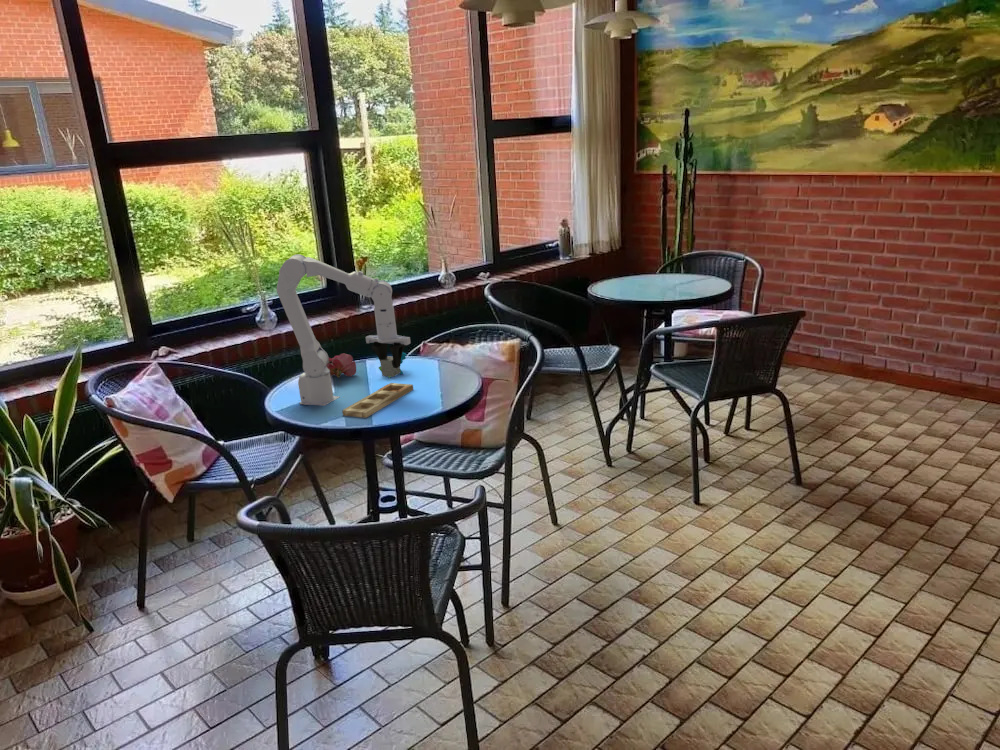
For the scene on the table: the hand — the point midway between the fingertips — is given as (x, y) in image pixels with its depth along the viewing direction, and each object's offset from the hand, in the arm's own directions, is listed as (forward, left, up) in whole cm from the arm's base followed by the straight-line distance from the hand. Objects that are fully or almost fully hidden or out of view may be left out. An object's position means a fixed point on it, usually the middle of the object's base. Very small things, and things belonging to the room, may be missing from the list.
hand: (391, 366), depth 223 cm
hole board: (0, -8, -9) cm, 12 cm away
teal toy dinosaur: (-13, +19, -9) cm, 24 cm away
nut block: (0, 0, -2) cm, 2 cm away
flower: (-29, +11, -9) cm, 32 cm away
